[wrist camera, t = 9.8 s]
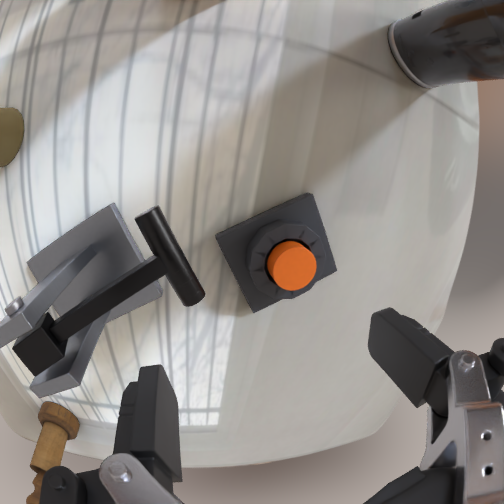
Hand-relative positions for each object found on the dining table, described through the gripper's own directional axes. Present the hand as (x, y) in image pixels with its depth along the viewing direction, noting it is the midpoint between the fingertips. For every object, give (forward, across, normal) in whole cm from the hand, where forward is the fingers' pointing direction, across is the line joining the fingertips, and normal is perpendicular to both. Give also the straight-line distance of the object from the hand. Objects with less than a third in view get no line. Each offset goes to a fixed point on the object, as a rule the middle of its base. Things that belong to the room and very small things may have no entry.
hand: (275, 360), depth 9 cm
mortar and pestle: (+16, +29, +21) cm, 39 cm away
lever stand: (+15, +13, +1) cm, 20 cm away
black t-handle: (+7, +9, 0) cm, 11 cm away
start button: (+13, -5, +2) cm, 14 cm away
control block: (+15, -5, +2) cm, 16 cm away
